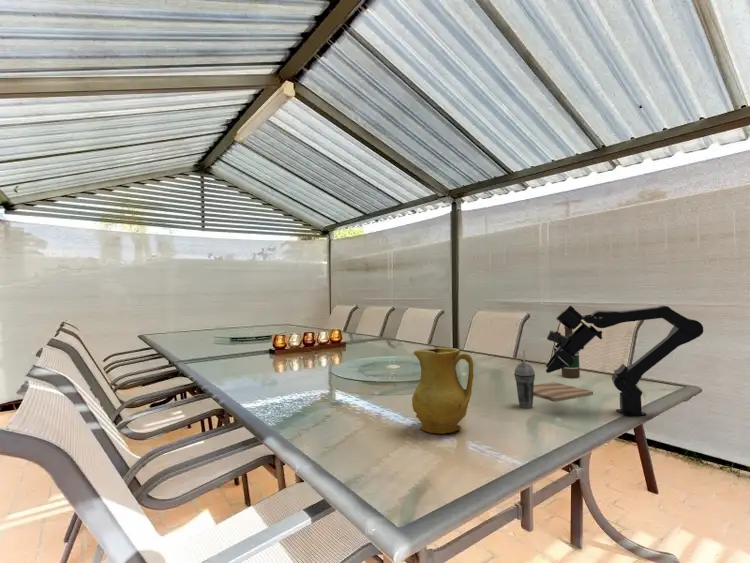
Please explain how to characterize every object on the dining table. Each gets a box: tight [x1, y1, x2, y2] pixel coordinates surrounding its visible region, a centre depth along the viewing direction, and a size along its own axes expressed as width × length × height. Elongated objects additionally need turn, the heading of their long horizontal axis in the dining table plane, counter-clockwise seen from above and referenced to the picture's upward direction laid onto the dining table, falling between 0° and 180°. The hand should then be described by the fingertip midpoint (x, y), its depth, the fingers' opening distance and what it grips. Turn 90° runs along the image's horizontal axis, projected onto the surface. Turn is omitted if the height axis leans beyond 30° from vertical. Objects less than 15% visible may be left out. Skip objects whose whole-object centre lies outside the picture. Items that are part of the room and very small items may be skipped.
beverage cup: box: [513, 350, 536, 409], centre depth 152 cm, size 7×7×20 cm
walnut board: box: [533, 381, 594, 402], centre depth 170 cm, size 20×20×1 cm
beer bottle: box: [561, 326, 581, 379], centre depth 197 cm, size 8×8×24 cm
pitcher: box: [411, 346, 474, 435], centre depth 131 cm, size 17×19×25 cm
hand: (546, 369), depth 150 cm, fingers open, 9 cm apart
